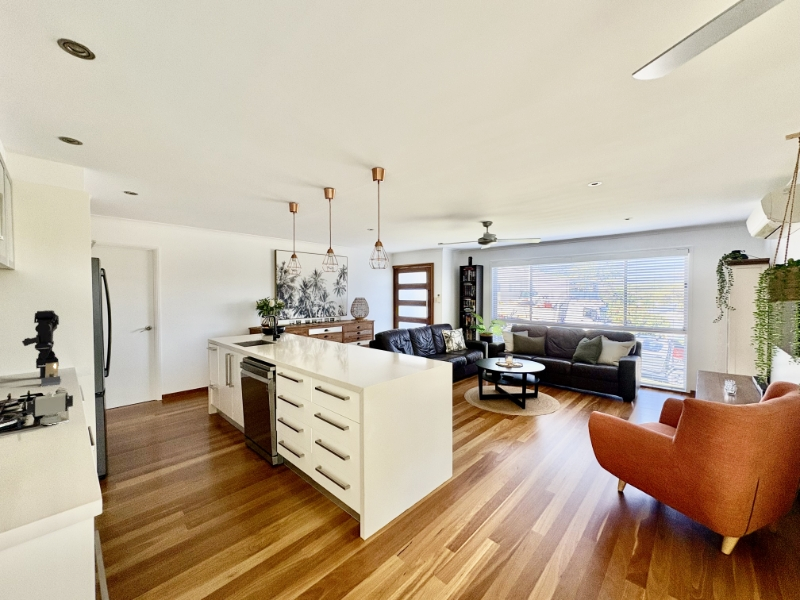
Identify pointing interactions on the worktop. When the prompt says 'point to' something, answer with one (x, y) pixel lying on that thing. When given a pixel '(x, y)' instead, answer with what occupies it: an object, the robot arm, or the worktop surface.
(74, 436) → the worktop surface
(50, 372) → the ball
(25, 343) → the robot arm
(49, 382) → the press bed
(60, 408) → the pneumatic valve
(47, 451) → the worktop surface
